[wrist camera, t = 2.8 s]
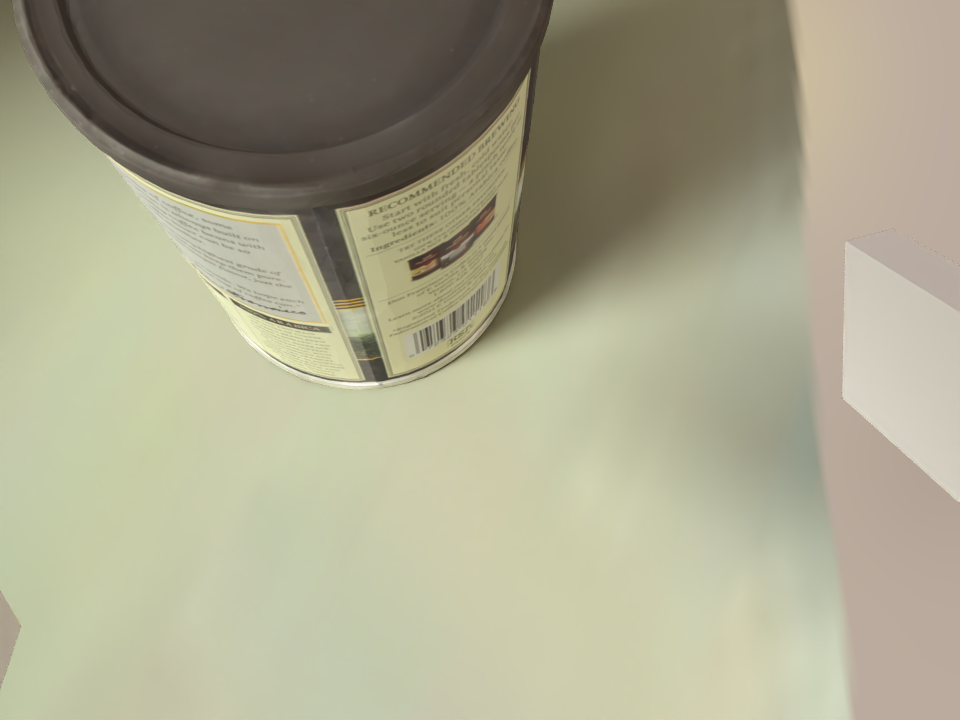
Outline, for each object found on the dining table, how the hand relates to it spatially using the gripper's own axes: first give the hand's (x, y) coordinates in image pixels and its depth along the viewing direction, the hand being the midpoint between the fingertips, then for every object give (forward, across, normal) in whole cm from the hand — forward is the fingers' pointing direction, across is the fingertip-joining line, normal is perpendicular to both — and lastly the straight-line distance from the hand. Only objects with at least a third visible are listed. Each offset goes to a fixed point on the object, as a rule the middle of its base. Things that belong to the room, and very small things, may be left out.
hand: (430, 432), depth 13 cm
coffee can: (+18, 0, -4) cm, 19 cm away
